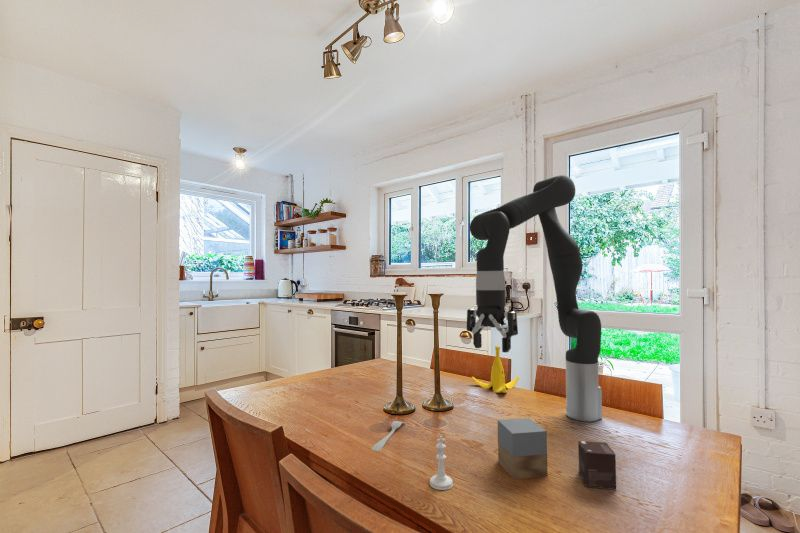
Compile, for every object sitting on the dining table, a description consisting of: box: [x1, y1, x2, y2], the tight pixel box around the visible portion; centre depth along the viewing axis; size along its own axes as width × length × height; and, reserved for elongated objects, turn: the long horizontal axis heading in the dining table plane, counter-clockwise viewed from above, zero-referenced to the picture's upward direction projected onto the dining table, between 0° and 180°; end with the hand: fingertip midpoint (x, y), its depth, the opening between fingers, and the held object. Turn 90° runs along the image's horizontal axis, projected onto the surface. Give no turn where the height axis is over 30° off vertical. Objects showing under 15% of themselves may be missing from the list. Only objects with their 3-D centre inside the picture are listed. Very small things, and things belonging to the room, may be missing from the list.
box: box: [577, 440, 617, 490], centre depth 83 cm, size 6×6×7 cm
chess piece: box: [429, 435, 454, 491], centre depth 83 cm, size 5×5×10 cm
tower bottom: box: [497, 441, 548, 480], centre depth 89 cm, size 8×8×5 cm
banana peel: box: [471, 345, 520, 394], centre depth 153 cm, size 16×19×17 cm
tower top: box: [497, 417, 548, 457], centre depth 89 cm, size 8×8×5 cm
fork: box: [371, 420, 406, 452], centre depth 108 cm, size 3×21×3 cm, turn 159°
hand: (491, 349), depth 103 cm, fingers open, 8 cm apart
